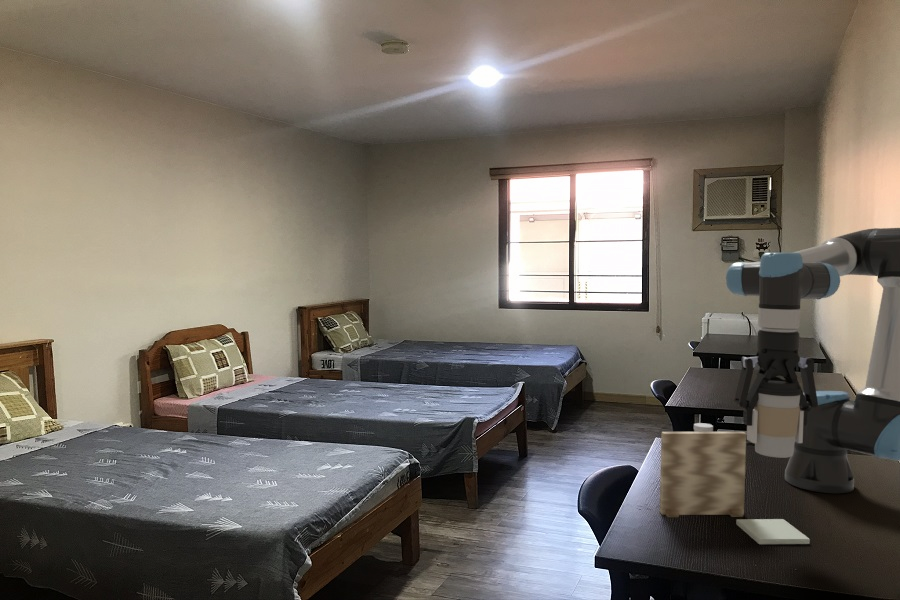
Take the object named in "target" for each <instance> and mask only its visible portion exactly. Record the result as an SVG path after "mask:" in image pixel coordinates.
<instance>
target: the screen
mask: <svg viewBox="0 0 900 600" xmlns="http://www.w3.org/2000/svg"><path fill="white" fill-rule="evenodd" d="M660 435H661V436H660V438H661V439H660V440H661V442H660V477H659V478H660V480H659V482H660V483H659V486H660V487H659V513H660V514H661V516H666V517H667V518H679V517H680V516H689V515H691V516H692V515H693V516H694V515H695V516H700V515H701V516H705V515H707V516H708V515H711V516H712V515H714V516H715V515H717V516H718V515H719V516H720V515H725V516H726V515H729V516H730V517H731V518H743V517H744V513H745V490H746V488H745V487H746V485H745V483H746V453H747V432H744V431H712V432H695V431H661V434H660Z"/></svg>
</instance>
